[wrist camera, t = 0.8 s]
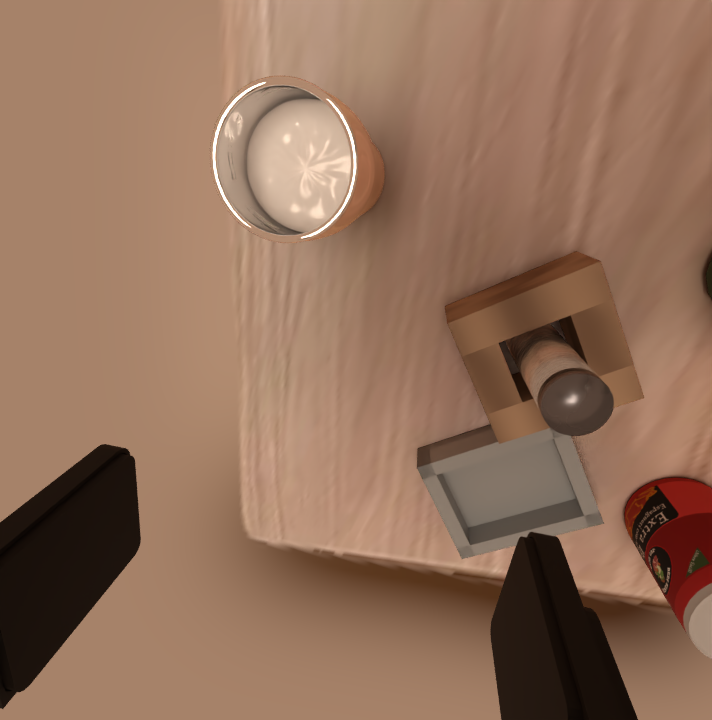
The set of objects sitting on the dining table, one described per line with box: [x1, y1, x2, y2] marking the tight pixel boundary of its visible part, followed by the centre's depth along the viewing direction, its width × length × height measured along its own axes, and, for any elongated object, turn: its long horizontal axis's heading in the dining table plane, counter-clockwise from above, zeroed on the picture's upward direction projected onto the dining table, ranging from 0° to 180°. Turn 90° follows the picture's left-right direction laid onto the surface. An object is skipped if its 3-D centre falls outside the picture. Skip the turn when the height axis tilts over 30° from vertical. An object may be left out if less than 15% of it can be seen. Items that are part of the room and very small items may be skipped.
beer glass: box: [210, 76, 385, 243], centre depth 26 cm, size 7×7×15 cm
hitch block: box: [445, 252, 644, 444], centre depth 33 cm, size 10×10×5 cm
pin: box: [506, 323, 614, 436], centre depth 30 cm, size 4×4×12 cm
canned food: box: [625, 478, 712, 659], centre depth 33 cm, size 8×8×11 cm
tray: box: [417, 424, 604, 559], centre depth 38 cm, size 12×10×3 cm
